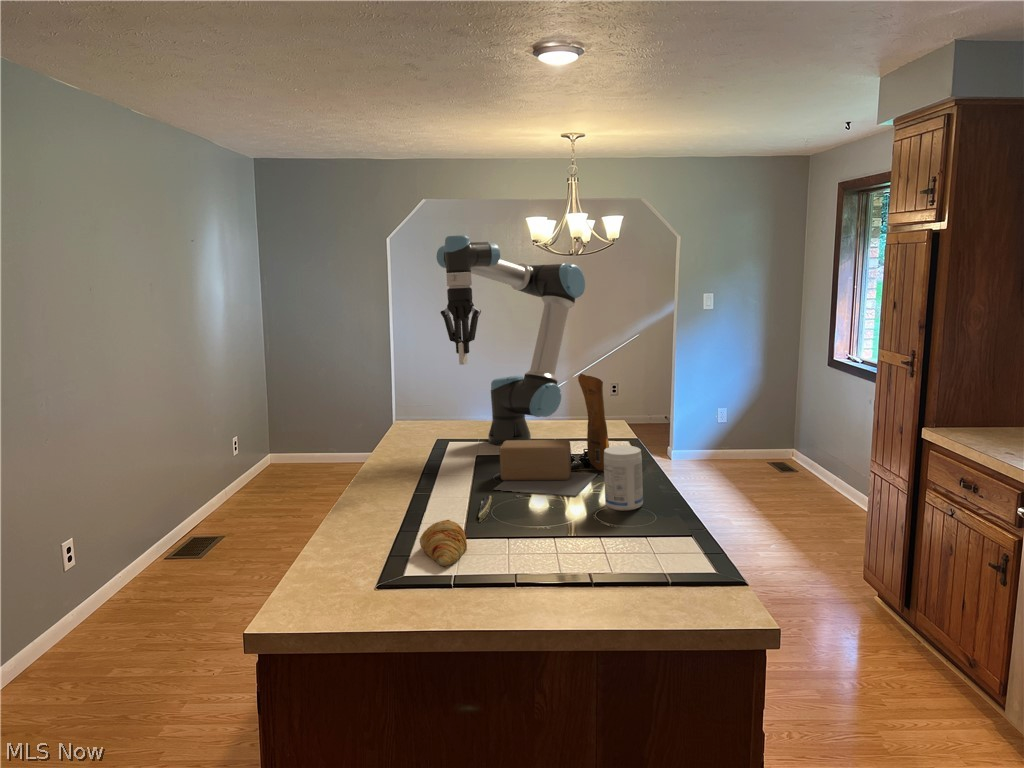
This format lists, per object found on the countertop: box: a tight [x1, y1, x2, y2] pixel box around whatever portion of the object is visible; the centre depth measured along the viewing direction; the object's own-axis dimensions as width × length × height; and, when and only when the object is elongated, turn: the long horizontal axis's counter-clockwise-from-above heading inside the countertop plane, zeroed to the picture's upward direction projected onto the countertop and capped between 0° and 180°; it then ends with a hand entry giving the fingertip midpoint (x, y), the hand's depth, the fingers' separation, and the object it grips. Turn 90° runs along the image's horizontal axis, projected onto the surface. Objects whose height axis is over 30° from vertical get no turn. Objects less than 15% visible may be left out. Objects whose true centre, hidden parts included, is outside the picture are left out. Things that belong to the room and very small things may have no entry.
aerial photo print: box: [478, 494, 532, 523], centre depth 192 cm, size 25×19×2 cm
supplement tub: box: [603, 445, 644, 512], centre depth 190 cm, size 10×10×15 cm
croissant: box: [419, 519, 468, 567], centre depth 165 cm, size 21×10×8 cm, turn 8°
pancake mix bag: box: [577, 373, 610, 472], centre depth 230 cm, size 7×19×28 cm, turn 8°
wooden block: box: [499, 439, 572, 482], centre depth 219 cm, size 10×10×20 cm
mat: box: [493, 471, 598, 498], centre depth 215 cm, size 22×24×1 cm
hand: (463, 364), depth 232 cm, fingers closed
